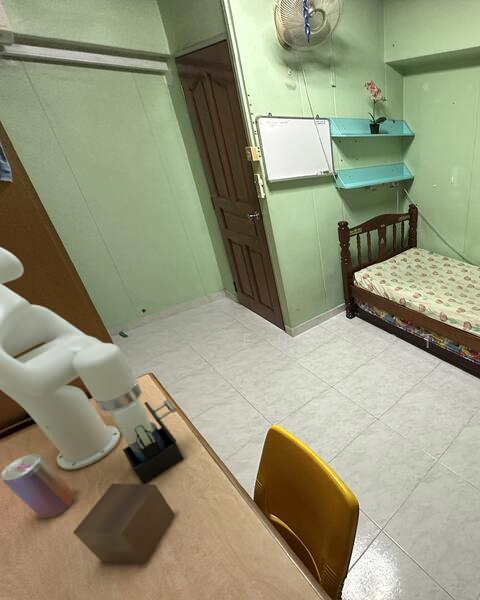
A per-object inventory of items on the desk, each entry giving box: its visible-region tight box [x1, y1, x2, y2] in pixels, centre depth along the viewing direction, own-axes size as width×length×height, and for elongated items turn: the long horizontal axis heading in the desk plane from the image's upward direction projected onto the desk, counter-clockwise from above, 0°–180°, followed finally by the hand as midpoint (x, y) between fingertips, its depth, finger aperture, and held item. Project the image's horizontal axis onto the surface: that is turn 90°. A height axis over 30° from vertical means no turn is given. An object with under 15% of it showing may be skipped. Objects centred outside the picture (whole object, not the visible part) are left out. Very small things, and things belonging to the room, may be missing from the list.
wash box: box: [122, 426, 185, 484], centre depth 80 cm, size 9×8×6 cm
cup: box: [125, 421, 167, 463], centre depth 78 cm, size 6×6×9 cm
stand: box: [72, 482, 176, 564], centre depth 64 cm, size 9×9×12 cm
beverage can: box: [0, 453, 75, 519], centre depth 68 cm, size 6×6×15 cm
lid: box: [143, 398, 178, 443], centre depth 80 cm, size 10×8×4 cm
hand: (148, 445), depth 78 cm, fingers closed on cup, 6 cm apart
